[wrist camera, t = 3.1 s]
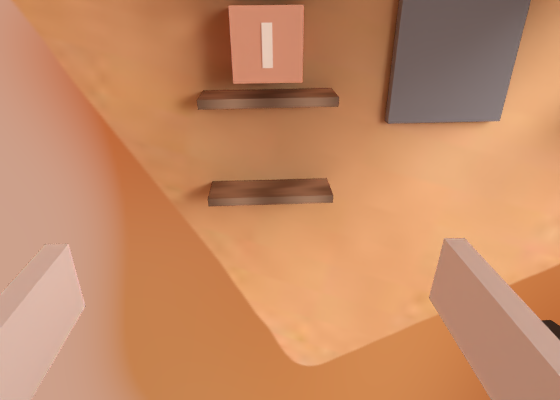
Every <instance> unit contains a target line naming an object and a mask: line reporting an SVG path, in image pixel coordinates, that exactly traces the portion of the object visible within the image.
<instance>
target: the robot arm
mask: <svg viewBox="0 0 560 400" xmlns="http://www.w3.org/2000/svg"><path fill="white" fill-rule="evenodd" d="M429 299H430V300H431V302H432V304H433V305H434V307H435V309H436V310H437V312H438V313H439V315H440V317H441V318H442V320H443V322H444V323H445V325H446V326H447V328H448V330H449V331H450V333H451V335H452V336H453V338H454V340H455V341H456V343H457V345H458V346H459V348H460V349H461V351H462V353H463V354H464V356H465V358H466V359H467V361H468V362H469V364H470V366H471V367H472V369H473V371H474V372H475V374H476V376H477V377H478V379H479V380H480V382H481V384H482V385H483V387H484V389H485V390H486V392H487V394H488V395H489V397H490V399H491V400H560V326H559V325H557V324H556V323H555V322H553V321H551V320H543V321H541V320H540V319H539V318H538V316H537V315H536V314H535V313H534V312H533V311H532V310H531V309H530V308H529V307H528V306H527V305H526V304H525V303H524V302H523V300H522V299H521V298H520V297H519V296H518V295H517V294H516V293H515V292H514V291H513V290H512V289H511V287H510V286H509V285H508V284H507V283H506V282H505V281H504V280H503V279H502V278H501V277H500V276H499V275H498V273H497V272H496V271H495V270H494V269H493V268H492V267H491V266H490V265H489V264H488V263H487V262H486V261H485V260H484V258H483V257H482V256H481V255H480V254H479V253H478V252H477V251H476V250H475V249H474V248H473V247H472V246H471V244H470V243H469V242H468V241H467V240H466V239H465V238H444V241H443V245H442V249H441V253H440V257H439V261H438V265H437V269H436V273H435V277H434V281H433V284H432V288H431V292H430V296H429ZM84 308H85V303H84V299H83V295H82V292H81V288H80V284H79V281H78V277H77V273H76V269H75V266H74V262H73V258H72V255H71V251H70V248H69V244H45V245H44V246H43V247H42V248H41V249H40V251H38V253H37V254H36V255H35V256H34V257H33V258H32V259H31V260H30V261H29V262H28V264H27V265H26V266H25V267H24V268H23V269H22V270H21V271H20V272H19V274H18V275H17V276H16V277H15V278H14V279H13V280H12V281H11V282H10V283H9V285H8V286H7V287H6V288H5V289H4V290H3V291H2V292H1V294H0V400H32V398H33V397H34V395H35V393H36V391H37V390H38V388H39V386H40V384H41V382H42V381H43V379H44V377H45V376H46V374H47V372H48V370H49V369H50V367H51V365H52V364H53V362H54V360H55V358H56V357H57V355H58V353H59V351H60V350H61V348H62V346H63V344H64V343H65V341H66V339H67V337H68V336H69V334H70V332H71V330H72V329H73V327H74V325H75V324H76V322H77V320H78V318H79V317H80V315H81V313H82V311H83V309H84Z"/></svg>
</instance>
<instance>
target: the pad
mask: <svg viewBox="0 0 560 400" xmlns="http://www.w3.org/2000/svg"><path fill="white" fill-rule="evenodd" d="M530 1H531V0H399V6H398V14H397V23H396V31H395V40H394V48H393V57H392V65H391V74H390V82H389V91H388V99H387V108H386V116H385V121H386V122H387V123H388V124H391V123H435V122H478V121H500V118H501V114H502V110H503V106H504V102H505V98H506V94H507V90H508V87H509V83H510V79H511V75H512V71H513V67H514V63H515V59H516V56H517V52H518V48H519V44H520V40H521V36H522V32H523V29H524V25H525V21H526V17H527V13H528V9H529V5H530Z"/></svg>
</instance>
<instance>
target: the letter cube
mask: <svg viewBox="0 0 560 400" xmlns="http://www.w3.org/2000/svg"><path fill="white" fill-rule="evenodd" d="M228 8H229V24H230V40H231V56H232V71H233V84H246V83H303V32H304V5H228Z"/></svg>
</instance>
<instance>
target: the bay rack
mask: <svg viewBox="0 0 560 400" xmlns="http://www.w3.org/2000/svg"><path fill="white" fill-rule="evenodd" d="M197 106H198V109H246V108H293V107H338V106H339V96H338V95H337V94H336V93H335V92H334V91H333V90H332V88H313V89H262V90H211V91H203V92H202V93H201V95H200V96H199V98H198V99H197ZM302 203H333V193H332V191H331V188H330V186H329V183H328V180H327V178H325V179H289V180H253V181H217V182H212V186H211V189H210V193H209V196H208V206H236V205H269V204H302Z"/></svg>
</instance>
